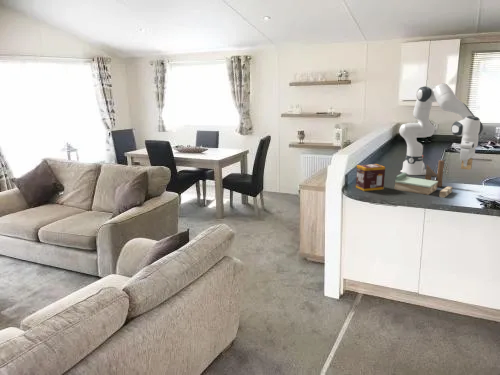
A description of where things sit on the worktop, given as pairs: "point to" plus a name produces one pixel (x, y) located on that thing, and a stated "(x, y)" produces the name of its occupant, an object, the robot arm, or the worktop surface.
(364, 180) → the supplement box
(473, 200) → the worktop surface
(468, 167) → the brown wood block
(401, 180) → the lid
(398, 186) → the tan piece
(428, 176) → the brown wooden bracket
